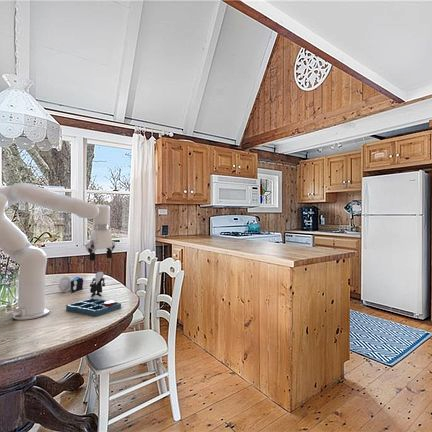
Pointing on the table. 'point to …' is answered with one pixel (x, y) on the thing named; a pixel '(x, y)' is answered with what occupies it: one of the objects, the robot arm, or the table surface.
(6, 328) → the table surface
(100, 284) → the toy
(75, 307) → the grid
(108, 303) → the cylinder
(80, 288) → the toy
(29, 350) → the table surface
